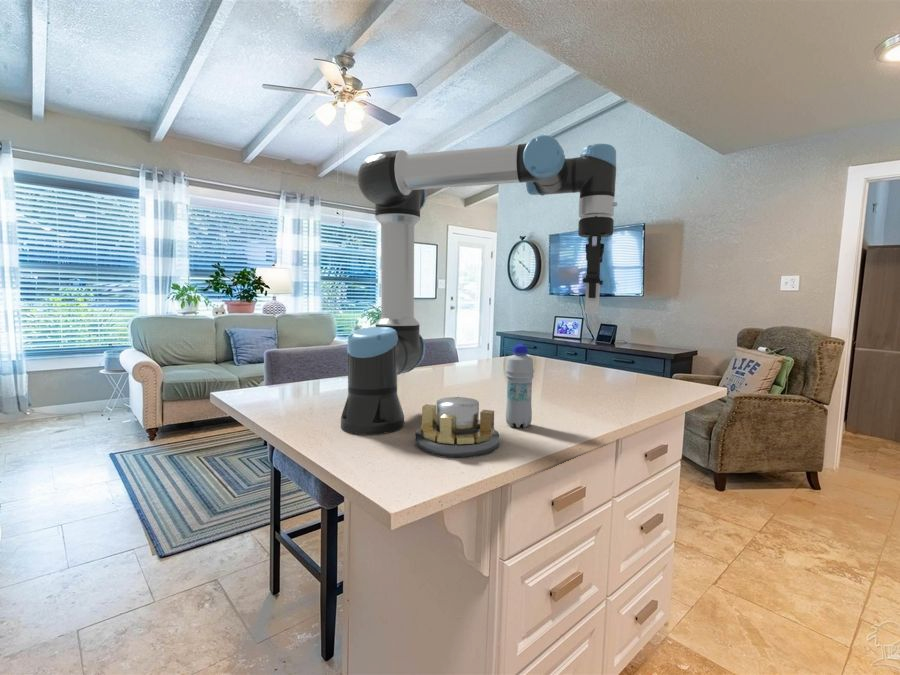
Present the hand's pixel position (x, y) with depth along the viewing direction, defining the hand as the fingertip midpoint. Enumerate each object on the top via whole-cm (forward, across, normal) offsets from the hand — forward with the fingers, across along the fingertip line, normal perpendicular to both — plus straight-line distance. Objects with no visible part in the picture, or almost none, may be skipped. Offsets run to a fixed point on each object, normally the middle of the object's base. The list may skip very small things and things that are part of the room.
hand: (592, 312), depth 104 cm
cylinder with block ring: (+26, -18, +26) cm, 41 cm away
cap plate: (+28, -18, +26) cm, 42 cm away
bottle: (+28, 0, +16) cm, 33 cm away
